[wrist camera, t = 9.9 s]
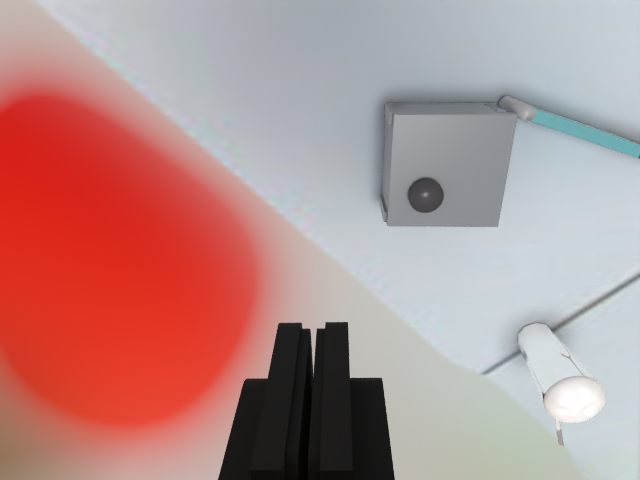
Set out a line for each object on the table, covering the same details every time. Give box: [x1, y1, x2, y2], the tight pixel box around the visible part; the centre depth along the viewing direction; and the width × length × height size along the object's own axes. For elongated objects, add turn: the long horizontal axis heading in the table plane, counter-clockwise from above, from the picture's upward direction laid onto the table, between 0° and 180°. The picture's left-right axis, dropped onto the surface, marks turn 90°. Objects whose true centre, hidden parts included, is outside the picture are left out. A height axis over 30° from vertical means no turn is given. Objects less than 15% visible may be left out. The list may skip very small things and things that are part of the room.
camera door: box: [499, 96, 640, 159], centre depth 32 cm, size 14×1×4 cm, turn 73°
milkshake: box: [518, 323, 606, 446], centre depth 39 cm, size 4×5×10 cm
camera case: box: [380, 102, 518, 227], centre depth 33 cm, size 8×8×6 cm
